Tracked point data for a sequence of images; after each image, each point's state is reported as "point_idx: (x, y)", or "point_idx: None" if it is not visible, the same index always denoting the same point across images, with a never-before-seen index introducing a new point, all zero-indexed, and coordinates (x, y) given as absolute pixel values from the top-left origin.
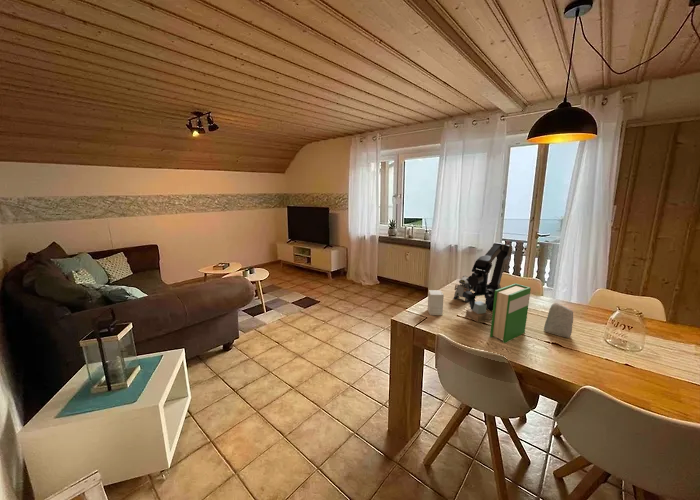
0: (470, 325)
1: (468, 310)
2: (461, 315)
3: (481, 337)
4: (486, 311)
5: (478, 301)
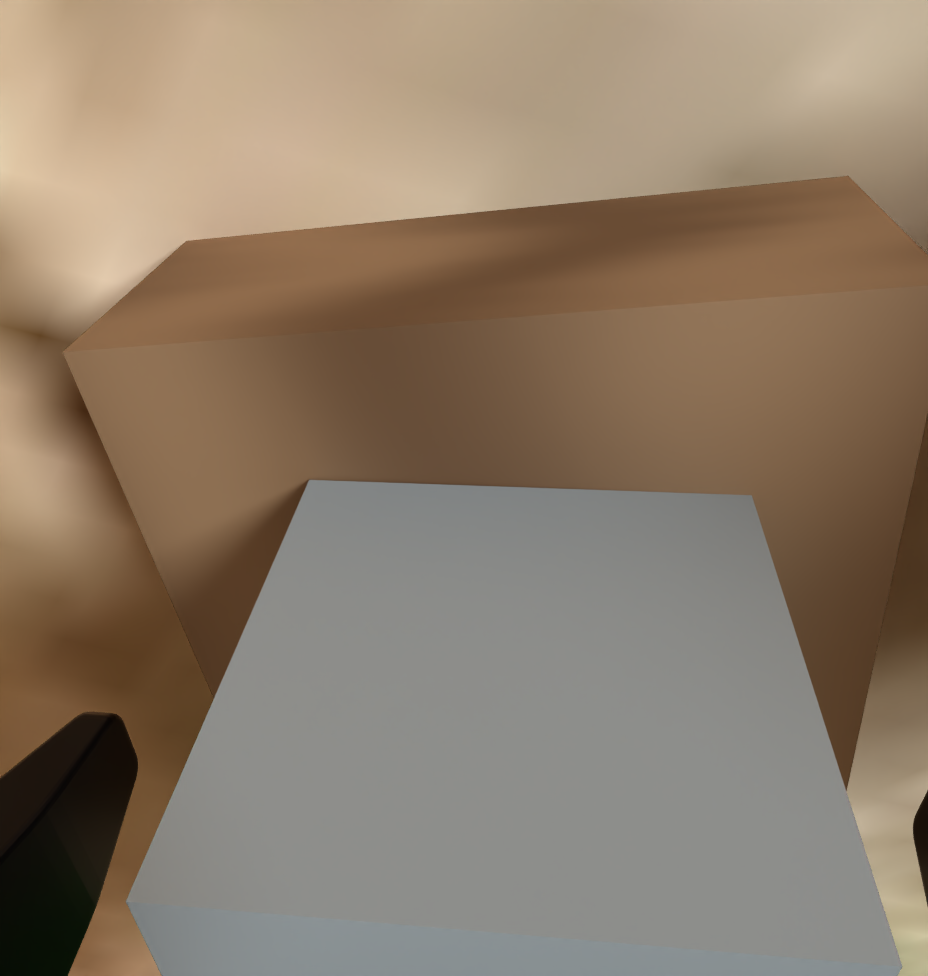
0: (79, 713)
1: (136, 442)
2: (17, 185)
3: (111, 962)
4: (840, 709)
5: (650, 961)
